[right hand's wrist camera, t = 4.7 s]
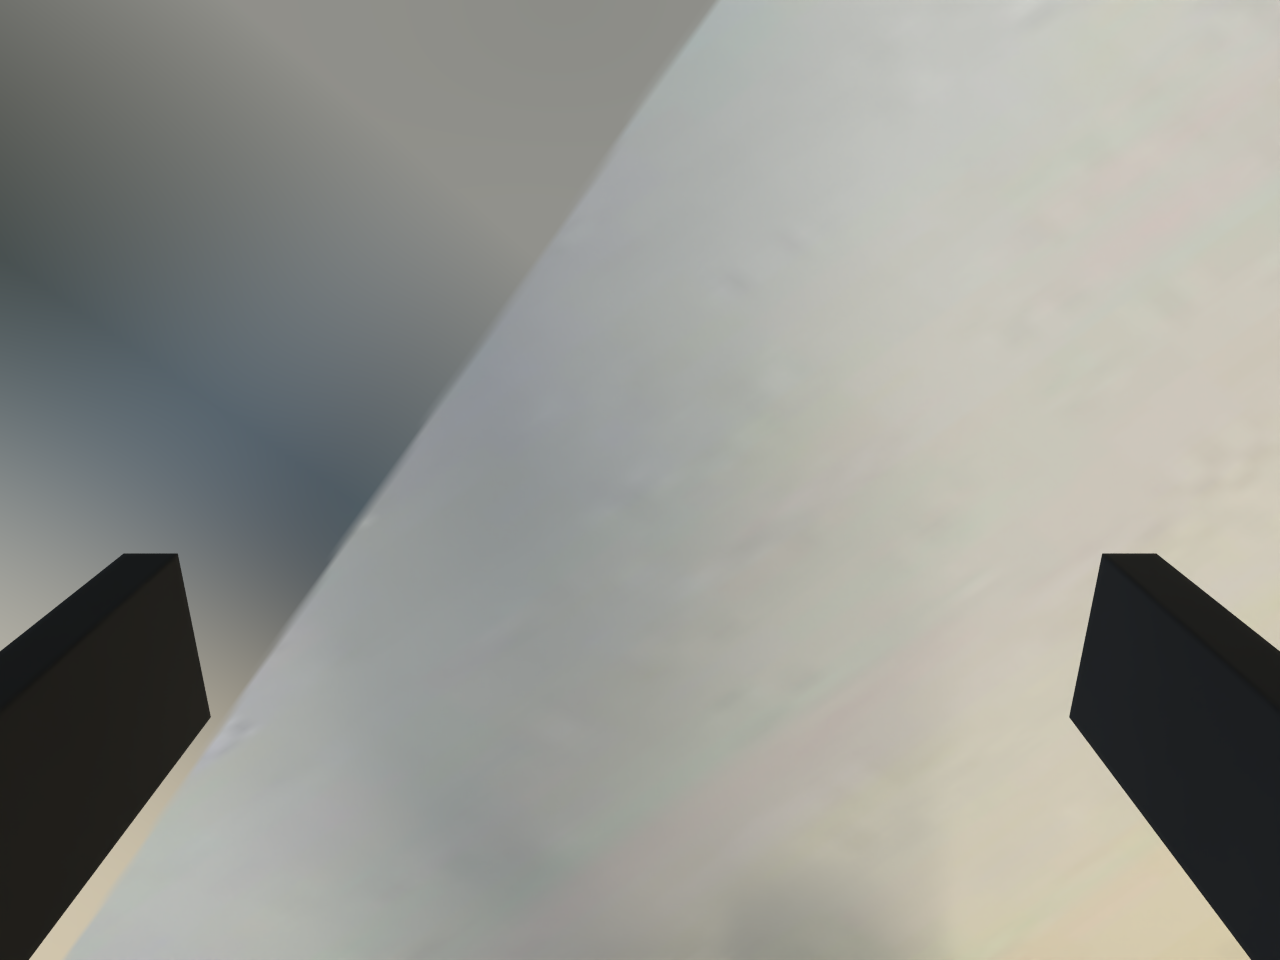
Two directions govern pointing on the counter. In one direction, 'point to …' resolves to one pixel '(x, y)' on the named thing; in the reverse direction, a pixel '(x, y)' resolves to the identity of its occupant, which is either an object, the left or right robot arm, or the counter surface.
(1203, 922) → the counter surface
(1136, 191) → the counter surface
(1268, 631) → the counter surface
